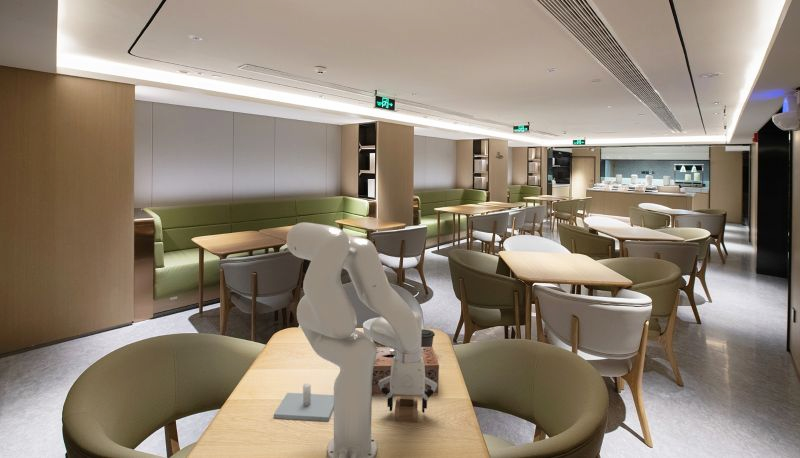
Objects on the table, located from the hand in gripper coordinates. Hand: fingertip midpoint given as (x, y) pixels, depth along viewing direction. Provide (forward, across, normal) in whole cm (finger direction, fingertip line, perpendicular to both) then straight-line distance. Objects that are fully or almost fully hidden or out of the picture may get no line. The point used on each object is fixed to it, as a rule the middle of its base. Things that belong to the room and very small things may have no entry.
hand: (407, 409), depth 122 cm
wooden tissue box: (+2, 0, 0) cm, 2 cm away
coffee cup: (+2, +5, +42) cm, 42 cm away
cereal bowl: (+3, -13, +56) cm, 58 cm away
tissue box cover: (+2, -4, +19) cm, 19 cm away
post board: (+2, -30, +1) cm, 30 cm away
